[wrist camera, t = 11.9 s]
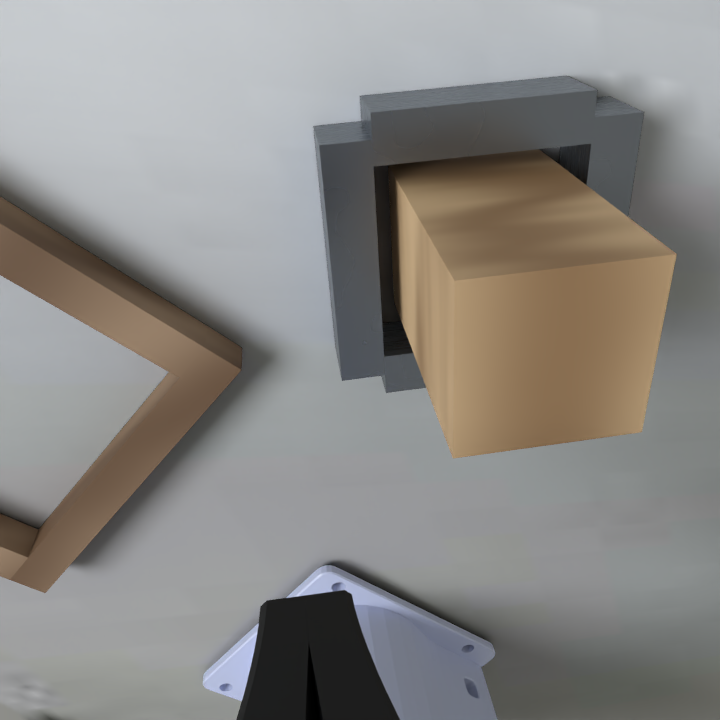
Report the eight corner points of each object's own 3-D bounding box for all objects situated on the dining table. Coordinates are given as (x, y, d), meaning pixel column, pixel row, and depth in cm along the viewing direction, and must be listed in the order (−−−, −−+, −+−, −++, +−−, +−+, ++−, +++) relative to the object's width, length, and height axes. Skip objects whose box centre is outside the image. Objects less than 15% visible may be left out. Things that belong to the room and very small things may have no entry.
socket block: (613, 71, 17) (648, 85, 16) (580, 333, 21) (605, 364, 20) (310, 100, 16) (316, 117, 15) (337, 363, 21) (343, 398, 19)
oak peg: (537, 148, 18) (676, 253, 12) (528, 285, 20) (641, 432, 14) (387, 164, 18) (454, 280, 12) (394, 301, 20) (452, 458, 14)
